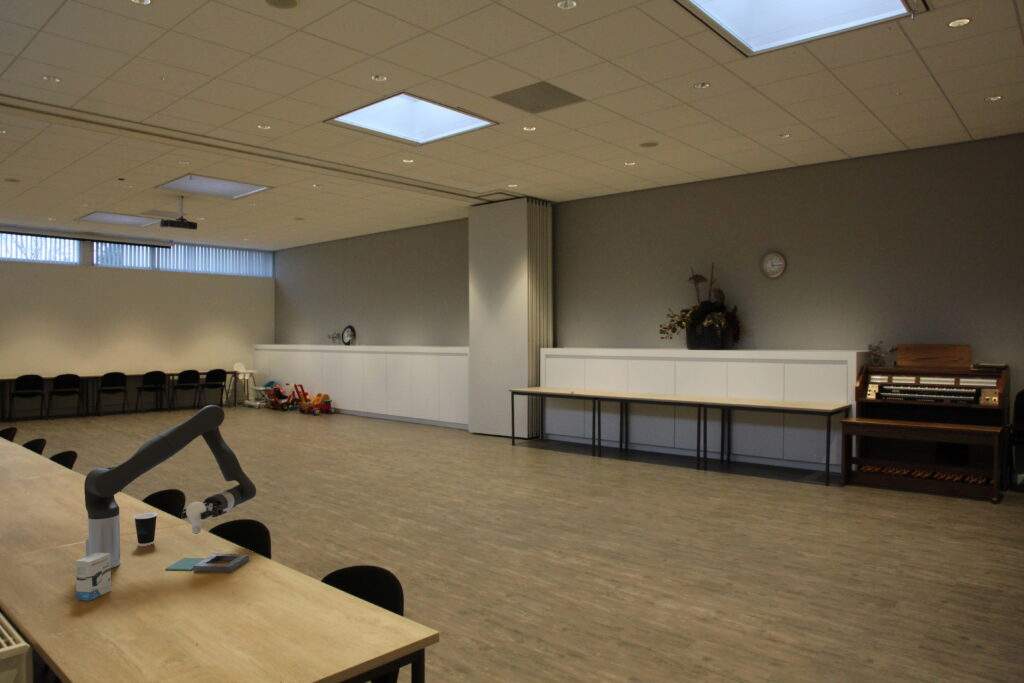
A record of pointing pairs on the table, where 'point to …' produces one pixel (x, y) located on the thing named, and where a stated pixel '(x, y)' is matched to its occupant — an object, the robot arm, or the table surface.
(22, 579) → the table surface
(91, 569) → the ink box
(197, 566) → the holder
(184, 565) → the mat
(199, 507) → the lightbulb
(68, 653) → the table surface
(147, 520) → the dixie cup
